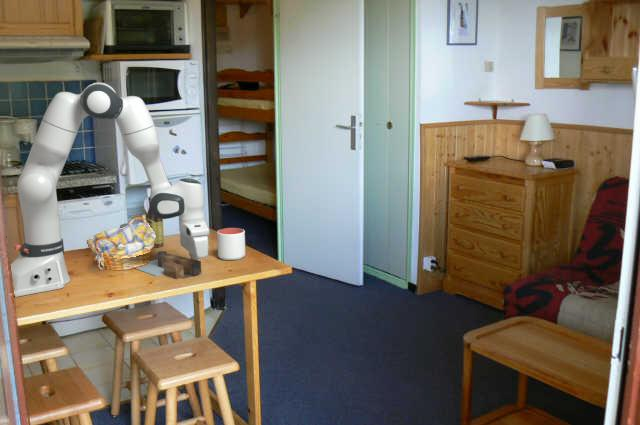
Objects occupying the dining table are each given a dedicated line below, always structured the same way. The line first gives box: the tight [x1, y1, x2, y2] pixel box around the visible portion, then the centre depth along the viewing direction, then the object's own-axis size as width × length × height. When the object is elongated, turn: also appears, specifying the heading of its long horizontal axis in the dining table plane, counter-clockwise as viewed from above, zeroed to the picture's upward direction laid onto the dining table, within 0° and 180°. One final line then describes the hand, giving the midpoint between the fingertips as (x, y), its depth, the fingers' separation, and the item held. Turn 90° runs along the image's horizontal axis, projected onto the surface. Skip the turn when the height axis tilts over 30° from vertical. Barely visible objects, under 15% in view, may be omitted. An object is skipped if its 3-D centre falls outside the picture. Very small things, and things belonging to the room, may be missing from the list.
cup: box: [216, 227, 246, 261], centre depth 258 cm, size 10×10×10 cm
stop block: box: [164, 262, 199, 280], centre depth 239 cm, size 8×8×4 cm
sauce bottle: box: [145, 196, 165, 248], centre depth 273 cm, size 7×6×20 cm
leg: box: [156, 250, 202, 276], centre depth 243 cm, size 19×4×5 cm, turn 54°
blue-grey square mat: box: [135, 259, 165, 277], centre depth 249 cm, size 16×16×1 cm
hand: (194, 264), depth 243 cm, fingers closed
